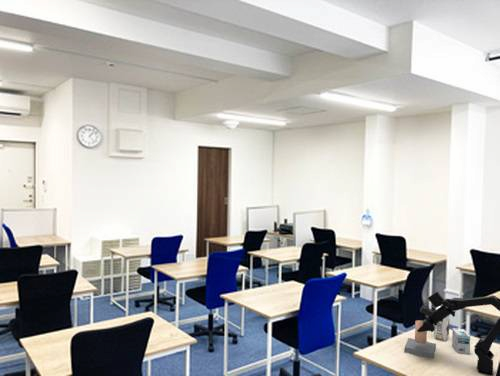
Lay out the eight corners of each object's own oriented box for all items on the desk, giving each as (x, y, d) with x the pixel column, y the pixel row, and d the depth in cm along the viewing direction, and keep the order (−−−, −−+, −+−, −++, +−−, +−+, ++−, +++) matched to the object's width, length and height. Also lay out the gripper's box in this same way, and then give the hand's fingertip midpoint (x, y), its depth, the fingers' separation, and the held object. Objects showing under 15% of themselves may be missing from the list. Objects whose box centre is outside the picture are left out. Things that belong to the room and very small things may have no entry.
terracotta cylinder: (426, 340, 219) (427, 321, 219) (426, 344, 214) (426, 325, 213) (415, 338, 222) (416, 319, 221) (414, 342, 217) (414, 322, 216)
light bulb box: (470, 354, 218) (470, 336, 218) (457, 353, 219) (457, 334, 219) (463, 346, 229) (464, 328, 228) (451, 345, 230) (452, 327, 230)
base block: (435, 348, 225) (436, 343, 225) (433, 359, 212) (433, 353, 212) (408, 342, 232) (408, 337, 232) (404, 352, 219) (404, 347, 219)
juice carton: (432, 338, 239) (433, 308, 238) (436, 334, 246) (437, 305, 245) (446, 342, 234) (447, 311, 234) (449, 337, 241) (450, 307, 240)
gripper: (430, 297, 223) (409, 312, 229) (428, 306, 207) (405, 322, 213) (445, 313, 220) (423, 328, 225) (444, 324, 203) (420, 340, 209)
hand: (418, 329), depth 218 cm, fingers closed on terracotta cylinder, 6 cm apart
